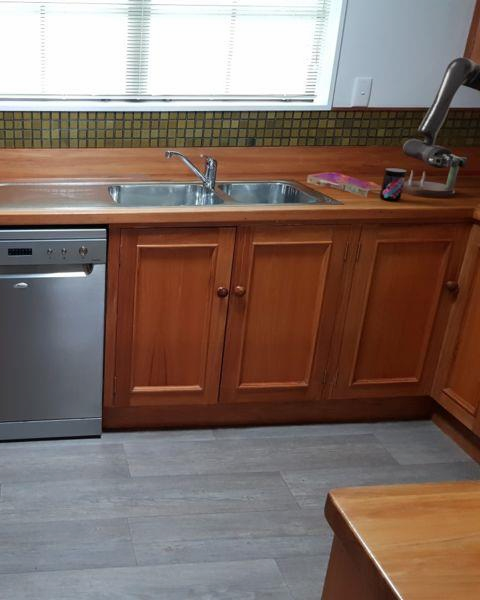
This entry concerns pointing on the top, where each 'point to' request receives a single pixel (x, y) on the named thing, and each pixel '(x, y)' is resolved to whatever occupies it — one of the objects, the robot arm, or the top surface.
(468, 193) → the top surface
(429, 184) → the dish rack
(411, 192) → the turntable base
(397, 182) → the supplement container
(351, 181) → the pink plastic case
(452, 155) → the robot arm
